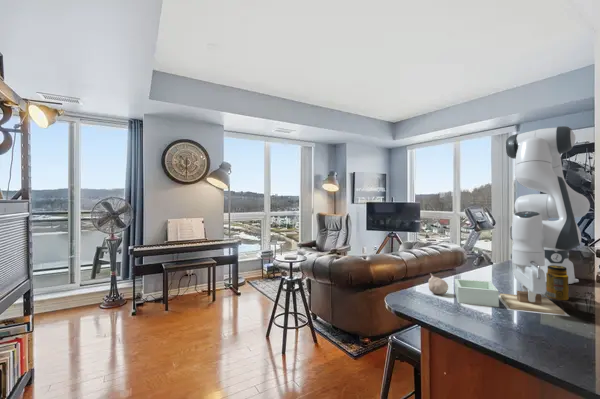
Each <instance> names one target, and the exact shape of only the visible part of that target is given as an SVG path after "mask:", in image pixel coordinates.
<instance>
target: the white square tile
mask: <svg viewBox="0 0 600 399" xmlns="http://www.w3.org/2000/svg"><path fill="white" fill-rule="evenodd" d="M499 302H501V303H502V304H503V306H504V307H505V308H506V310H507V311H515V312H526V313H535V314H536V313H537V314H542V315H543V314H544V315H552V316H553V315H554V316H562V317H570V315H569V314H568V313H567V312H566V311H564V313H565V315H563V314H553V313H544V312H534V311H525V310H515V309H510V308H509V307H508V305H507V304H506V303H505V302H504V300H503V299H502V298H501V297H500V294H499Z"/></svg>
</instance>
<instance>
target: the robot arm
mask: <svg viewBox="0 0 600 399" xmlns="http://www.w3.org/2000/svg"><path fill="white" fill-rule="evenodd" d="M575 142H576V135H575V132H574V131H573V129H572V128H571V127H570V126H567V125H566V126H557V127H546V128H539V129H535V130H530V131H526V132H522V133H516V134H513V135H511V136H509V137H508V138H507V139H506V140H505V144H504V150H505V153H506V155H507V157H508V158H510V159H515V160H514V161H515V162H514V176H515V181H517V182H518V184H520V185H521V186H523V187H525V188H527V189H529V190H532V191H536V192H539V193H532V194H531V193H530V194H524V195H520V196H518V197H517V198H516V199H515V202H514V210H515V213H513V215H512V221H511V226H510V228H509V231H510V233H509V235H510V239H511V240H512V247H511V253H510V254H509V258H510V260H511V264H512V265H511V266H512V273H513V276H514V279H515V280H516V281H518V283H520V284H521V285H520V287H521V289H522V290H521V291H527V292H528V295H527V299H528V301H530V302H535V297H536V294H541V295H545V294H547V286H546V285H547V284H546V273H547V272H548V271H547V270H548V268H547V267H548V266H549V265H556V266H563V267H566V269H567V275H568V285H569V284H570V285H571V284H574V283H579V282H580V281H579V279H578V278H576V276H575V268H574V263H573V262H572V261H571V260H570V259H569V258H570V251H571V250H573V249H575V248H578V247H579V246H580V245H581V242H582V234H581V229H580V227H579V225H578V223H577V222H576V218H582V217H584V216H586V215H587V214H588V213H589V211H590V208H591V203H590V201H589V199H588V198H587V196H586V195H585V196H584V195H583V194H581V193H579V192H578V191H576V190H574V189H573V188H572V187H570V185H568V183H567V181H566V179H565V177H564V171H563V163H562V156H561V154H565V153H567V152H570V151H571V150H572V149H573V147H574V146H575ZM540 192H541V193H540ZM549 219H557V220H549Z"/></svg>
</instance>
